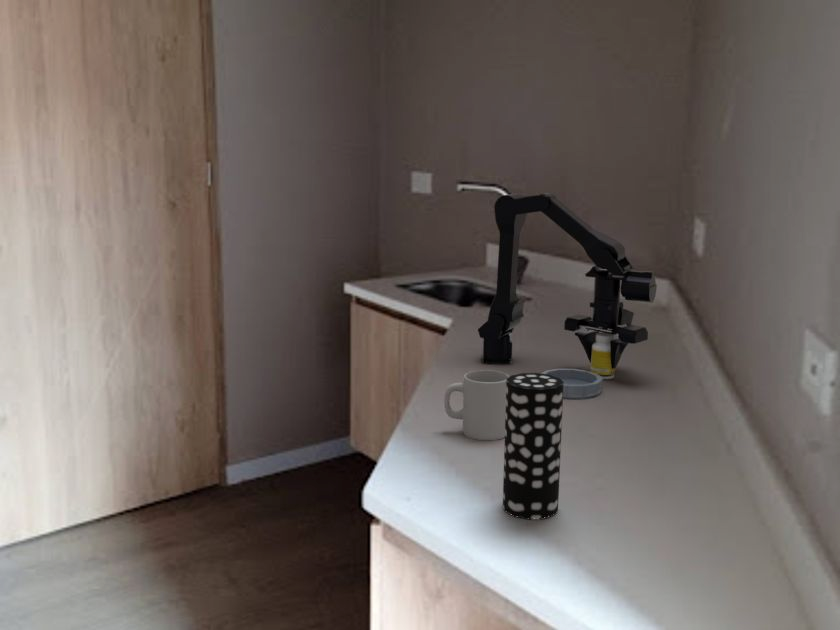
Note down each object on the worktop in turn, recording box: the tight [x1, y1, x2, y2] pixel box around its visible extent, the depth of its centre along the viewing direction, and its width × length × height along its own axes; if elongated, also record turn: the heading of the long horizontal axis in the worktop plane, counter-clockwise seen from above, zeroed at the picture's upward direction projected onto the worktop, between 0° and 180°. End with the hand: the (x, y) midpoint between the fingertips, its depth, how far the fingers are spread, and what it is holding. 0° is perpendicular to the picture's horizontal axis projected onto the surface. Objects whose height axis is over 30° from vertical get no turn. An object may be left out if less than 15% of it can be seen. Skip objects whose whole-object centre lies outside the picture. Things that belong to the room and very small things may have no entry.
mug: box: [443, 369, 510, 441], centre depth 170 cm, size 12×8×11 cm
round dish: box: [541, 368, 603, 400], centre depth 197 cm, size 13×13×3 cm
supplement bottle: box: [590, 332, 616, 380], centre depth 207 cm, size 5×5×10 cm
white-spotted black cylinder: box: [502, 372, 564, 520], centre depth 137 cm, size 8×8×20 cm
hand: (603, 365), depth 207 cm, fingers closed on supplement bottle, 5 cm apart
